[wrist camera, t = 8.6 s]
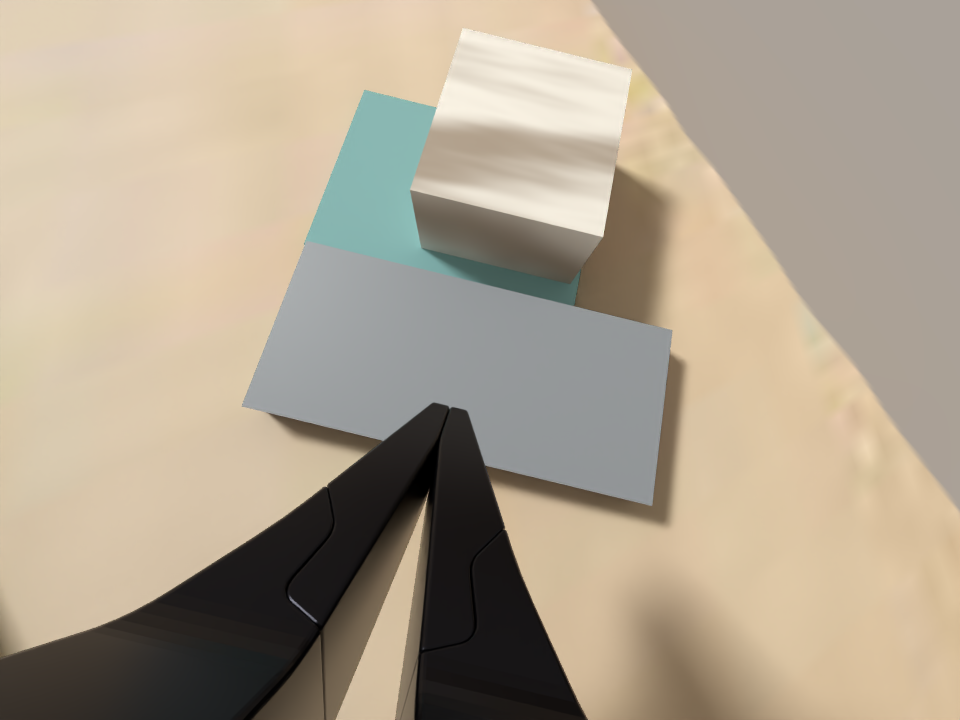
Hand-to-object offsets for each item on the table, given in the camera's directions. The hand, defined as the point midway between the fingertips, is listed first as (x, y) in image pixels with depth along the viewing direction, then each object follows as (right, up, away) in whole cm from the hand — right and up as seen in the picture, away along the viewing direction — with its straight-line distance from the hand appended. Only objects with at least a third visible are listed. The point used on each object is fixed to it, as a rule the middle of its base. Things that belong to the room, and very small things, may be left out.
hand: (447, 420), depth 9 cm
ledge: (0, +1, +12) cm, 12 cm away
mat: (0, +12, +14) cm, 18 cm away
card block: (+2, +8, +10) cm, 13 cm away
